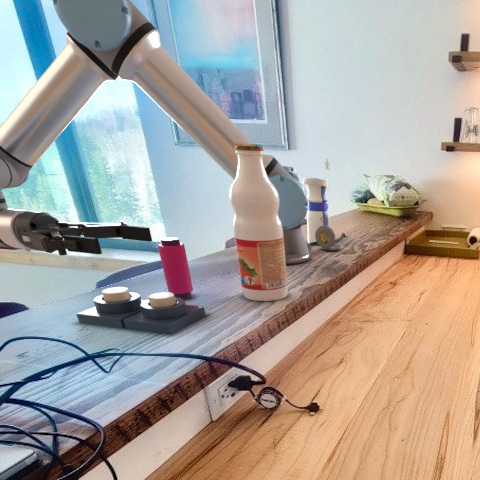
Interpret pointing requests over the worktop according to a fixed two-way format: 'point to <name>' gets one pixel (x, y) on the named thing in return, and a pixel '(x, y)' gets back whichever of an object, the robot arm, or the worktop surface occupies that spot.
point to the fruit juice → (257, 228)
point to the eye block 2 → (164, 317)
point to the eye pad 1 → (115, 294)
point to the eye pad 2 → (162, 299)
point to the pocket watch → (326, 237)
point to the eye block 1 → (111, 311)
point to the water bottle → (316, 204)
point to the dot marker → (175, 267)
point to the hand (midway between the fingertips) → (125, 240)
